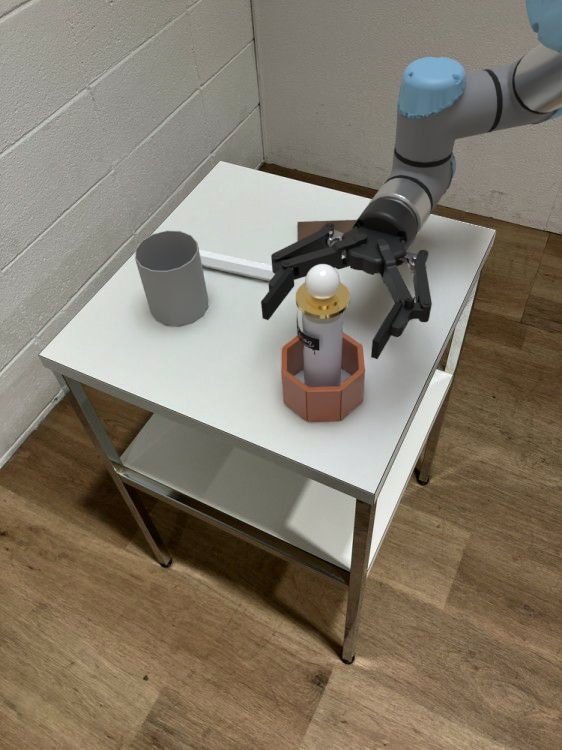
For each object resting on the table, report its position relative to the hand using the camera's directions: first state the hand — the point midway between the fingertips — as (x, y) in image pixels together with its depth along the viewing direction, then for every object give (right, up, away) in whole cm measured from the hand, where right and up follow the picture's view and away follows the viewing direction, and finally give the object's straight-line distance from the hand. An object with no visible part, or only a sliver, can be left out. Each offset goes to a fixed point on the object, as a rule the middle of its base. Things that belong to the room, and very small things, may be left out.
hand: (317, 330), depth 70 cm
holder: (+1, -7, +10) cm, 12 cm away
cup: (-19, +5, +21) cm, 28 cm away
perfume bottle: (+1, -7, +10) cm, 12 cm away
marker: (-12, +11, +25) cm, 30 cm away
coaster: (+4, +16, +29) cm, 33 cm away
